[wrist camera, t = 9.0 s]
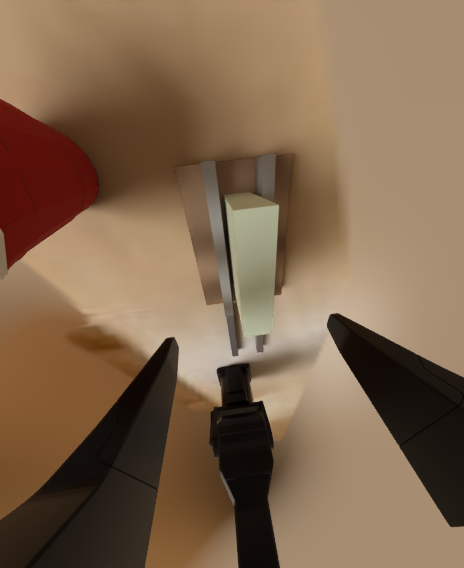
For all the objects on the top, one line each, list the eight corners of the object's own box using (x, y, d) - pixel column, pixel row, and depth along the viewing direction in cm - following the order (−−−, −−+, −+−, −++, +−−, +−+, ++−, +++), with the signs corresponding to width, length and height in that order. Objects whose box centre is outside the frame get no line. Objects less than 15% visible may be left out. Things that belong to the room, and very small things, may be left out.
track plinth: (277, 288, 24) (288, 306, 20) (207, 298, 23) (206, 318, 20) (286, 155, 15) (307, 149, 12) (177, 167, 15) (167, 165, 12)
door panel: (252, 282, 21) (272, 333, 14) (233, 285, 21) (244, 337, 14) (249, 192, 15) (279, 204, 9) (223, 194, 15) (233, 210, 9)
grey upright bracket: (261, 345, 30) (263, 351, 29) (232, 350, 30) (232, 356, 29) (261, 298, 24) (263, 304, 23) (224, 304, 24) (225, 309, 23)
